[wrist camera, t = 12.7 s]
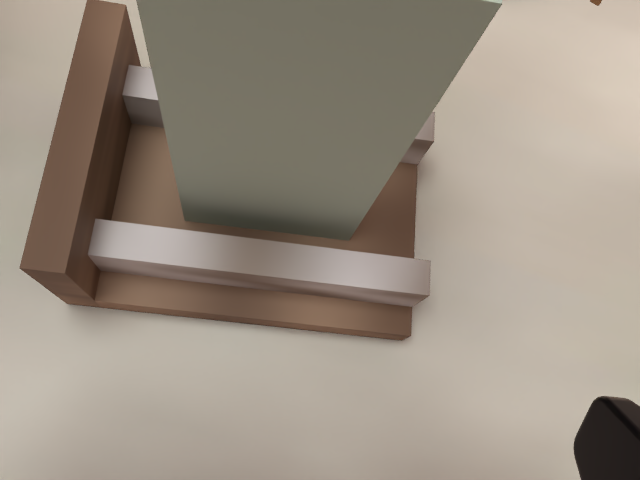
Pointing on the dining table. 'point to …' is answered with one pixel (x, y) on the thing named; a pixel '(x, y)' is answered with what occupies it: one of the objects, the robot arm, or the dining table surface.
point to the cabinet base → (193, 237)
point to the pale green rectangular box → (299, 101)
